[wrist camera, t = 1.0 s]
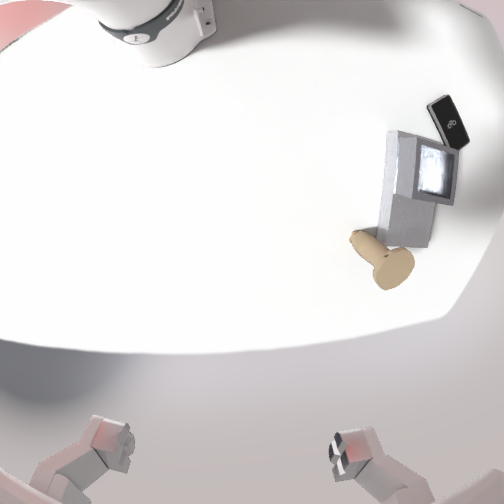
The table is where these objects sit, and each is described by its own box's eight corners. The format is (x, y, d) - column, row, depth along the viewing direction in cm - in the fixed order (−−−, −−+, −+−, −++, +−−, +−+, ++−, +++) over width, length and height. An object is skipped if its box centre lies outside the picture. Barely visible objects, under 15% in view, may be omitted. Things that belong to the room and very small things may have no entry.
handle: (375, 237, 48) (418, 268, 34) (349, 258, 49) (384, 296, 35) (363, 217, 47) (406, 242, 33) (336, 238, 48) (370, 272, 34)
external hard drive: (443, 94, 39) (448, 93, 37) (464, 141, 42) (470, 142, 40) (424, 106, 40) (429, 105, 38) (447, 155, 43) (453, 156, 41)
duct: (386, 131, 42) (415, 129, 33) (428, 142, 42) (459, 143, 33) (375, 239, 48) (400, 256, 39) (416, 241, 49) (443, 258, 40)
